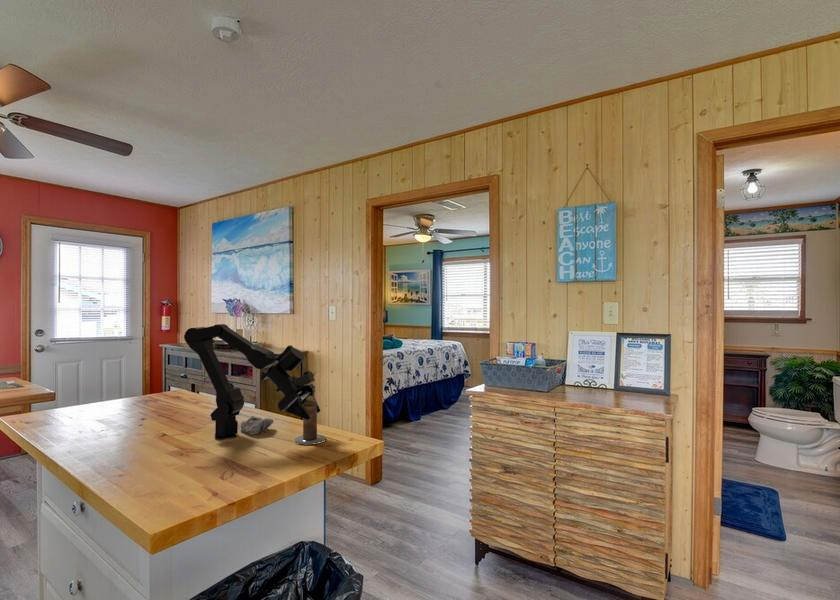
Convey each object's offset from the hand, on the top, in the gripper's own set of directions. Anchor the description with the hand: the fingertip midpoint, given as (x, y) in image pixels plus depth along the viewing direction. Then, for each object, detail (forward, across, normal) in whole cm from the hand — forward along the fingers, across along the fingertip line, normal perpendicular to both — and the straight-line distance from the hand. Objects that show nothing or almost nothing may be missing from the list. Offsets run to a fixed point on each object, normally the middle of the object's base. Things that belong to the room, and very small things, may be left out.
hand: (314, 415), depth 146 cm
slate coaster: (+5, 0, +7) cm, 8 cm away
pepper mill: (+4, 0, +6) cm, 8 cm away
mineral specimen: (-11, +8, +24) cm, 27 cm away
